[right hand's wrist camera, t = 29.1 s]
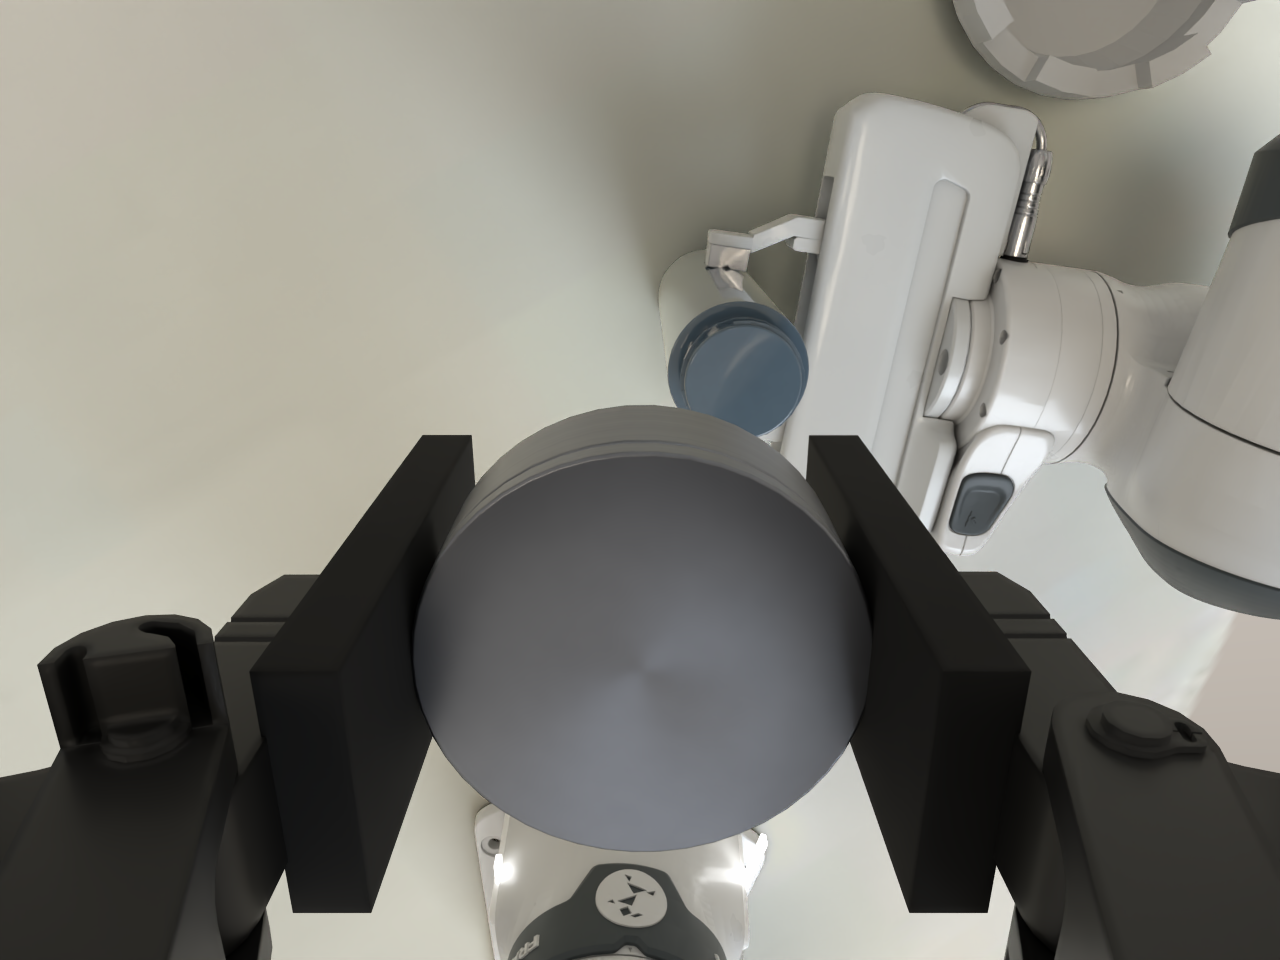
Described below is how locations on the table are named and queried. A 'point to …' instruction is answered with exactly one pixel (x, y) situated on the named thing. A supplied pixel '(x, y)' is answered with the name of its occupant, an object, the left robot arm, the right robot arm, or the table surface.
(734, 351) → the jar
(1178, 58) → the flag stand
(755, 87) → the table surface
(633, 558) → the lid
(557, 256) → the table surface
